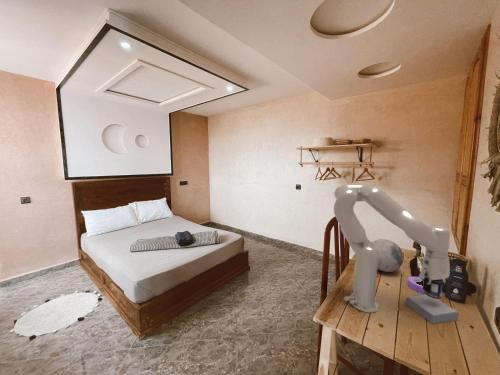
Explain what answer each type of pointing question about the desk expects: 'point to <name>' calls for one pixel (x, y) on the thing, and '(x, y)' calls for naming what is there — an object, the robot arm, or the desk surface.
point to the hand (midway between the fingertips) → (432, 289)
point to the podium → (432, 309)
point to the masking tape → (415, 284)
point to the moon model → (388, 255)
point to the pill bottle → (435, 289)
